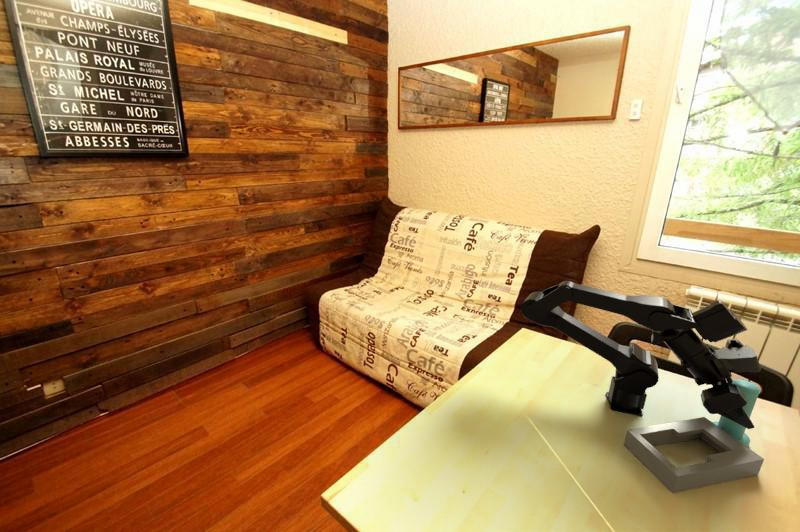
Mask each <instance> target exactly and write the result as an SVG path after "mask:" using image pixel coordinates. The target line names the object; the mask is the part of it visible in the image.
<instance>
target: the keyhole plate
mask: <svg viewBox="0 0 800 532" xmlns="http://www.w3.org/2000/svg"><path fill="white" fill-rule="evenodd" d="M712 422H713V421H711V420H709V419H708V418H707V417H705V416H702V417H697V418H689V419H685V420H684V419H683V420H678V421H673V422H667V423H660V424H653V425H649V426H643V427H637V428H631V429H627V430H626V434H625V438H624V442H623V446H624V447H625V448H626V449H628V451H629V452H630V453H631V454H632V455H633V456H634V457H636V458H637V459H638V460H639V462H640V463H641V464H643V466H645V467H646V468H647V470H648V471H649V472H651V474H652V475H654V476H655V478H657V480H659V481H660V482H661V483H662V485H664V486H665V487H666V488H667V489H668V491H670V492H671V493H672V494H675V493H679V492H684V491H688V490H689V491H690V490H693V489H699V488H703V487H707V486H712V485H716V484H718V485H719V484H722V483H727V482H730V481H731V482H732V481H735V480H741V479H745V478H749V477H750V478H751V477H756V476H758V475H759V474H760V471H761V468H762V466H763V463H764V461H765V458H763V457H762V456H761V455H759V454H757V452H755V451H754V450H752V449H751V448H750V447H749V446H748V447H746V446H745V445H744V444H742V443H741V442H739V441H738V440H736V439H735V438H734V437H732V436H731V435H729V434H728V433H727V432H725V431H724V430H722V429H721V428H719V427H718V426H717V425H715V424H714V423H712ZM699 438H700V439H702V440H704V442H706V443H707V444H708V445H710V446H712V447H713V448H714V449H715V450H716V451H718V452H717V453H713V454H707V455H706V457H705V461H706V462H702V463H695V464H691V465H685V466H680V467H676V466H675V464H673V463H672V462H671V461H670V460H669V459H667V457H665V456H664V454H662V453H661V451H659V450H657V448H655V447H656V446H663V445H667V444H674V443H679V442H684V441H691V440H694V439H699Z"/></svg>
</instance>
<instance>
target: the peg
mask: <svg viewBox="0 0 800 532" xmlns="http://www.w3.org/2000/svg"><path fill="white" fill-rule="evenodd" d="M732 380H733V382H732V384H735V385H736V386H737V387H738V388H739V389H740V390H741V392H742V393H743V394H744V396H745V398H746V400H747V404H746V405H745V406H744V407H743V408H744V410H745V411H746V413H747V415H748V416H749V418H750V419H751V416H752V413H753V410H754V409H755V406H756V402H757V400H758V397H759V394H760V391H761V388H760V387H759V386H758V385H756V384H755V383H753V382H750V381H747V380H744V379H740V378H739V379H738V378H735V379H732ZM711 422H712V423H714V424H715V425H717V426H718V427H719V428H721V429H722V430H724V431H725V432H727V433H728V434H729V435H731V436H732V437H734V438H735V439H736V440H738V441H739V442H741V443H742V444H744V445H745V446H746V447H748V448H749V445H750V443H751V439H750V436H749V435H748V434H747V433H745V431H746V429H747V428H745V427H743V426H742V425H740V424H738V423H736V422H734V421H732V420H730V419H728V418H726V417H724V416H721V415H720V416H719V421H711Z"/></svg>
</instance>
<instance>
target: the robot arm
mask: <svg viewBox="0 0 800 532" xmlns="http://www.w3.org/2000/svg"><path fill="white" fill-rule="evenodd" d="M566 302H571V303H576V304H578V305H582V306H585V307H590V308H594V309H599V310H601V311H606V312H609V313H613V314H617V315H620V316H624V317H625V318H628V319H629V320H631V321H632V322H634V323H636V324H638V325H640V326H642V327H645V328H647V329H650V330H651V331H652V334H651V337H650V338H651V339H650V341H651V344H652V345H654V346H655V345H657V344H660V343H662V342H664V344H665V345H666V346H667V347H668V348H669V350H670V351H671V352H672V353H673V355H675V357H676V358H677V359H678V360H679V362H680V366H681V367H682V368H683V370H687V371H689V373H690V374H691V375H692V376H693V378H694V379H693V380H694V382H695V384H697V386H698V387H700V386H702V385H706V386H708V385H711V386H712V387H709V388H706V389H703V390H701V394H700V398H701V400H700V401H701V403H702V406H703V407H704V408H705V410H706V411H707V412H708V413H709V414H710V415H719V416H720V417H721V416H724V417H726V418H728V419H730V420H732V421H734V422H736V423H738V424H740V425H742V426H743V427H745V428H746V429H747V430H752V429H754V428H755V425H754V422H752V420H751V417H750V418H749V416H748V415H747V413H746V411H745V410H744V408H743V407H744V406H745V405H746V404H747V400H746V398H745V396H744V394H743V393H742V392H741V390H740V389H739V388H738V387H737V386H736V385H735V384H732V382H733V380H734V379H733V378H732V377H733V375H732V373H746V372H747V373H748V372H751V373H759V372H761V371H762V368H761V365H760V361H759V359H758V355H757V353H756V351H755V350H754V349H753V347H752V346H749V344H743V343H742V342H741V341H740V340H738V339H737V338H730V337H732V336H733V337H734V336H735V335H739V334H741V333H743V332H745V331H748V328H747V327H746V325H745V324H744V322H743V321H742V320H741V319H740V318H739V317H738V315H737V314H736V313H735V312H734V311H733V310H732V309H731V308H729V307H728V306H727V305H725V304H724V303H723V302H722V301H721V300H719V299H718V300H716V301H714V302H712V303H710V304H709V305H707V306H705V307H703V308H702V307H701V308H700V309H699V310H695V311H694V312H693V311H692V310H691V308H688V307H685V306H681V305H678V304H674V303H672V302H671V301H670V300H669V299H668V298H666V297H663V296H654V295H644V294H643V295H641V294H640V295H628V294H622V293H618V292H615V291H610V290H605V289H601V288H597V287H592V286H589V285H588V286H587V285H584V284H579V283H575V282H573V281H571V280H564V281H563V280H562V281H561V282H560V283H558V284H555V285H553V286H550V287H548V288H546V289H544V290H542V291H539V290H538V291H533V292H531V293H530V294H529V295H528V296H527V297H526V298H525V300H524V301H523V303H522V304H521V310H520V311H521V314H522V316H523V317H524V318H525V319H526V320H528V321H530V322H532V323H535V324H537V325H539V326H544V327H550V328H553V329H555V330H557V331H558V332H560V333H562V334H564V335H565V336H567V337H569V338H570V339H571V340H573V341H575V342H577V343H579V344H580V345H581V346H583V347H585V348H586V349H588V350H590V351H591V352H593V353H595V354H596V355H598V356H600V357H601V358H603V359H605V360H606V361H607V362H609V363H610V364H611V365H612V366H613V367H614V368H615V375H612V376H611V380H610V385H609V390H608V391H606V392H605V396H606V399H607V402H608V405H609V409H610V410H611V411H614V412H619V413H623V414H629V415H635V416H640V417H643V415H644V414H643V413H644V412H643V411H642V410H644V407H645V405H646V400H647V396H648V394H647V392H646V391H647V389H649V388H652V387H655V386H656V385H657V384H658V382H659V379H660V377H659V368H658V367H659V366H658V363H657V359H656V358H655V357H654V356H653V355H652V352H651V351H650V350H647V349H644V348H642V347H641V346H640V345H639V344H637V343H635V342H631V345H630V346H628V345H622V344H620V343H618V342H616V341H615V340H613V339H611V338H609V337H608V336H605V335H604V334H602V333H601V332H599V331H597V330H596V329H593V328H592V327H590V326H589V325H587V324H585V323H584V322H582V321H580V320H578V319H577V318H575V317H574V316H572V315H570V314H568V313H567V312H565V311H564V310H563V309H562V308H561V307H560V305H562V304H564V303H566ZM694 330H695V331H696V332H697V333H698V334H697V333H696V332H695V331H694ZM699 335H700V336H699ZM701 337H702V339H703V340H704V341H709V342H710V343H713V342H714V343H717V342H720V341H723V340H726V339H727V340H726V343H725V346H722V348H720V349H715V348H714V347H713V346H712V345H711V344H708V343H705V342H704V341H703V340H702V339H701ZM729 338H730V339H729Z"/></svg>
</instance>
